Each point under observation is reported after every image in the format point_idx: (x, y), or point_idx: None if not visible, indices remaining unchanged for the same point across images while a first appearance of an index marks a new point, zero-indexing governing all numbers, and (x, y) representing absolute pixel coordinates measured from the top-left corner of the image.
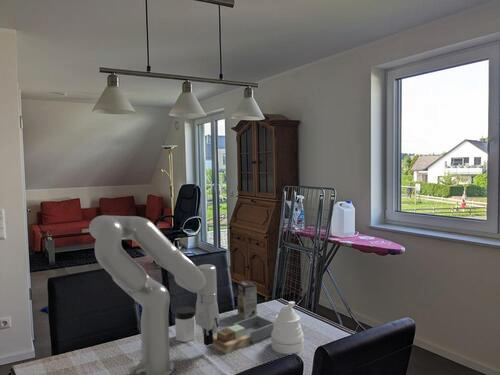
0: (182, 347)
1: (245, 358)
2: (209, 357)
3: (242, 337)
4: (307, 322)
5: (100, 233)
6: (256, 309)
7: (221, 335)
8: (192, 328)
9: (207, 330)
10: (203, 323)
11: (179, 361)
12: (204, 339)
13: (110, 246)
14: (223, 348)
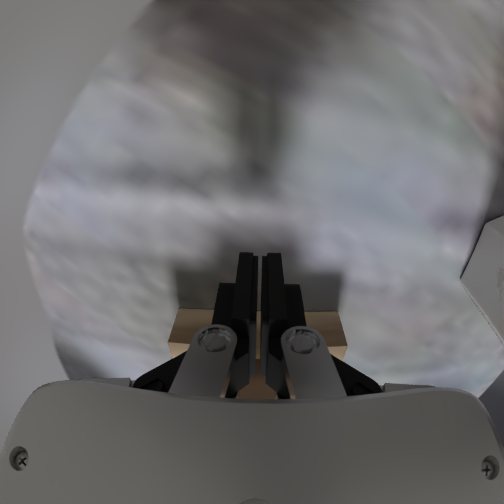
0: (461, 169)
1: (91, 328)
2: (204, 210)
3: None
4: None
5: None
6: None
7: (245, 393)
8: (501, 315)
9: (189, 386)
10: (166, 493)
11: (313, 16)
12: (268, 281)
13: None
14: (206, 324)
